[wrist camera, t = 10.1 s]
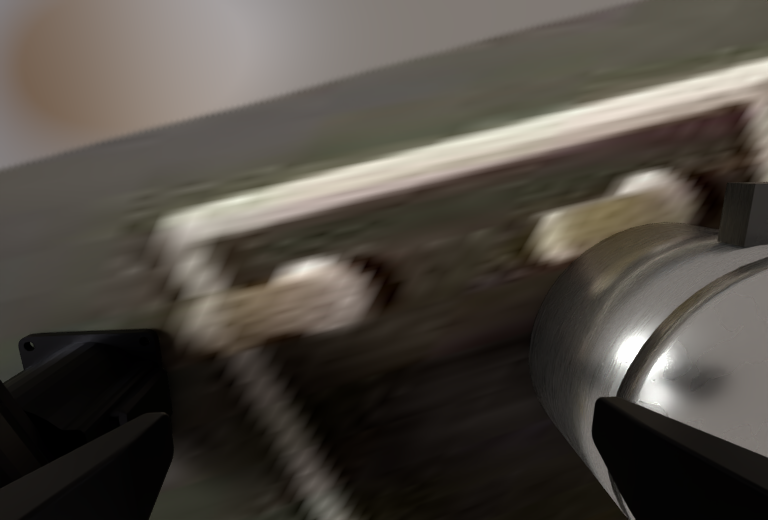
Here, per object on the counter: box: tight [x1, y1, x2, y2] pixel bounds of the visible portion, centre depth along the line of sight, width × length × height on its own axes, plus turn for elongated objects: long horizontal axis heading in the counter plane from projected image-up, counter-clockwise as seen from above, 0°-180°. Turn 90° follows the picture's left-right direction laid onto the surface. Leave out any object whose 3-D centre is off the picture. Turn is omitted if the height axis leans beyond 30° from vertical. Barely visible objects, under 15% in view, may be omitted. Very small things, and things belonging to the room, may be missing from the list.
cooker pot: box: [529, 182, 768, 517], centre depth 20 cm, size 14×19×7 cm
